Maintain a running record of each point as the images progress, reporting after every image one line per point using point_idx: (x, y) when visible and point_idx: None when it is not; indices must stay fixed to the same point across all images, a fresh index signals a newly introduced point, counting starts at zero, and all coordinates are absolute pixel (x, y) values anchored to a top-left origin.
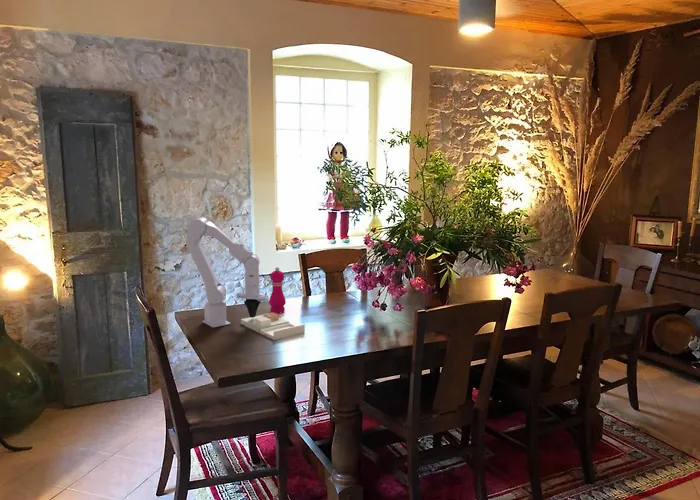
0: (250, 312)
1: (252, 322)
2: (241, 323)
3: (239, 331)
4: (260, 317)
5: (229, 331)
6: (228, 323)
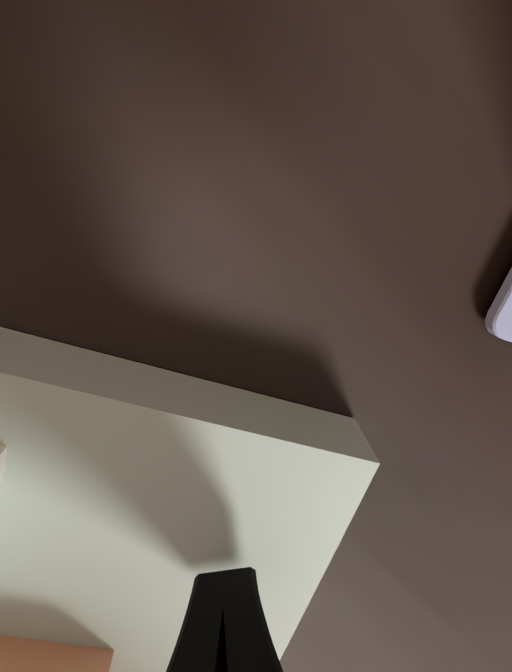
0: (229, 669)
1: (90, 456)
2: (347, 421)
3: (115, 131)
4: None
5: (265, 9)
6: (509, 292)
